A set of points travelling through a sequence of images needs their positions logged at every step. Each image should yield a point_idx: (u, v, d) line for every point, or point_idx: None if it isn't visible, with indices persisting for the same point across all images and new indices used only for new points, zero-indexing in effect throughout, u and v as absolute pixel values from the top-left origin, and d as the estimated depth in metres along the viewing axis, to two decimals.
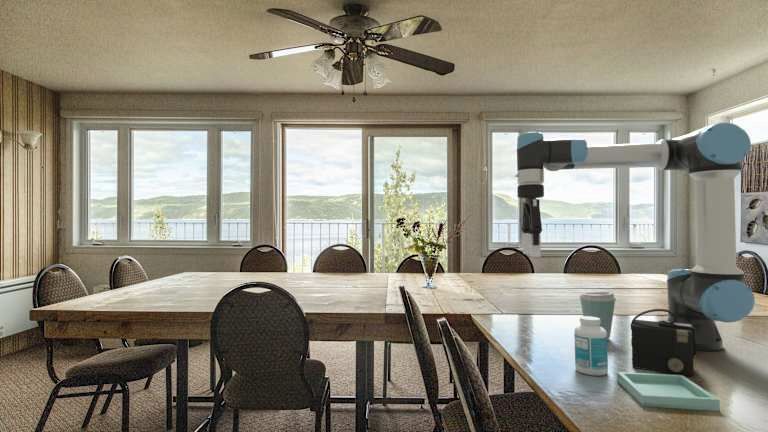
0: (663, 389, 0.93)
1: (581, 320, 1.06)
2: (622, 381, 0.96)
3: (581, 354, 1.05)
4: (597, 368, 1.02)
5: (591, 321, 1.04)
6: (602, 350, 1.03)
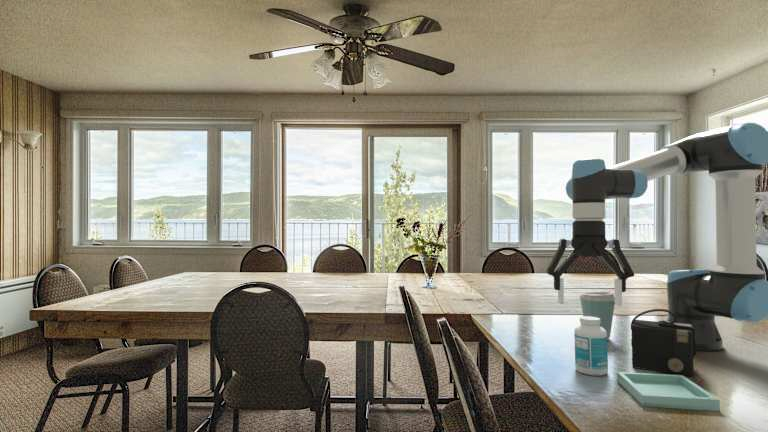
0: (663, 389, 0.93)
1: (581, 320, 1.06)
2: (622, 381, 0.96)
3: (581, 354, 1.05)
4: (597, 368, 1.02)
5: (591, 321, 1.04)
6: (602, 350, 1.03)
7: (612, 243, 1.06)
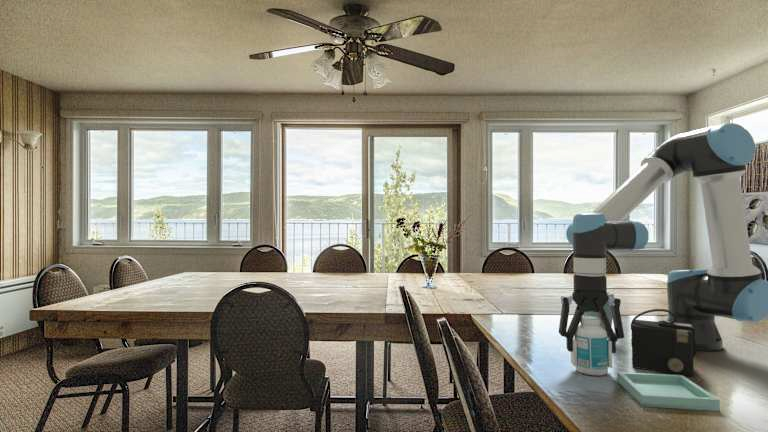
0: (663, 389, 0.93)
1: (581, 320, 1.06)
2: (622, 381, 0.96)
3: (581, 354, 1.05)
4: (597, 367, 1.02)
5: (591, 321, 1.04)
6: (602, 350, 1.03)
7: (613, 301, 1.05)
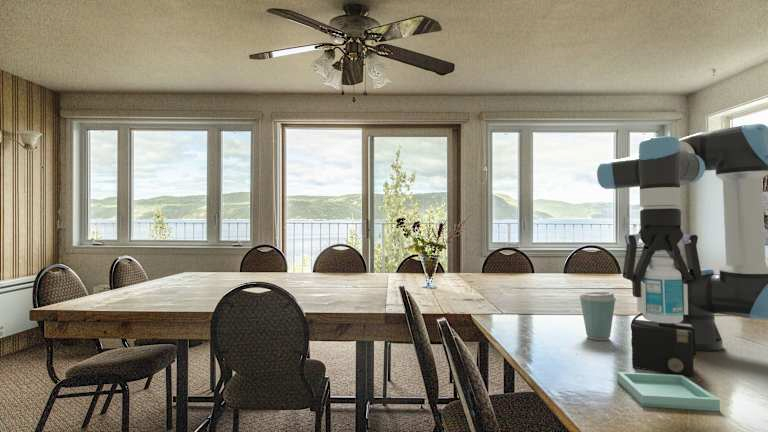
0: (663, 389, 0.93)
1: (650, 261, 0.92)
2: (622, 381, 0.96)
3: (651, 299, 0.90)
4: (672, 313, 0.88)
5: (663, 261, 0.90)
6: (678, 293, 0.89)
7: (688, 238, 0.91)
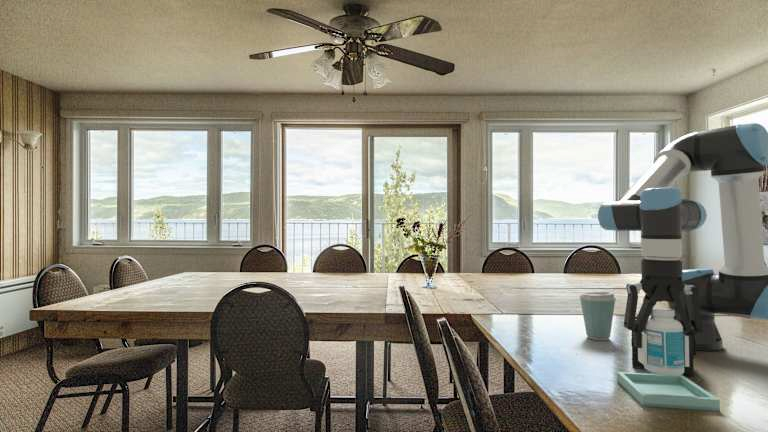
0: (663, 389, 0.93)
1: (651, 312, 0.92)
2: (622, 381, 0.96)
3: (653, 351, 0.90)
4: (674, 366, 0.88)
5: (665, 312, 0.90)
6: (679, 346, 0.88)
7: (689, 289, 0.91)
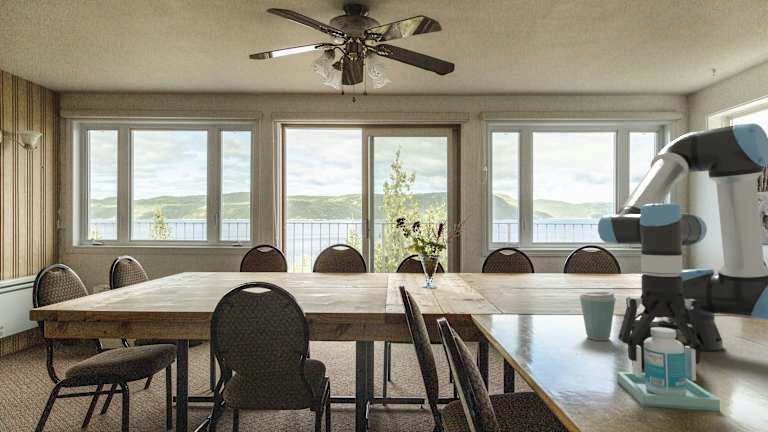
0: None
1: (653, 332, 0.92)
2: (622, 381, 0.96)
3: (654, 372, 0.90)
4: (675, 388, 0.88)
5: (666, 333, 0.90)
6: (680, 367, 0.88)
7: (690, 303, 0.91)
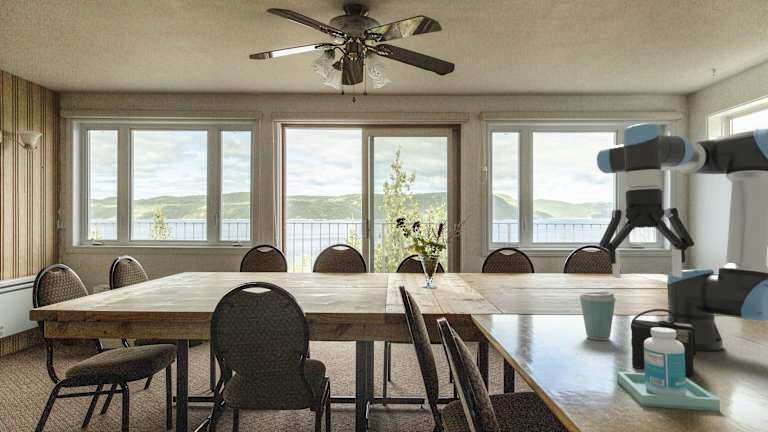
0: None
1: (653, 332, 0.92)
2: (622, 381, 0.96)
3: (654, 372, 0.90)
4: (675, 388, 0.88)
5: (666, 333, 0.90)
6: (680, 367, 0.88)
7: (669, 212, 1.00)
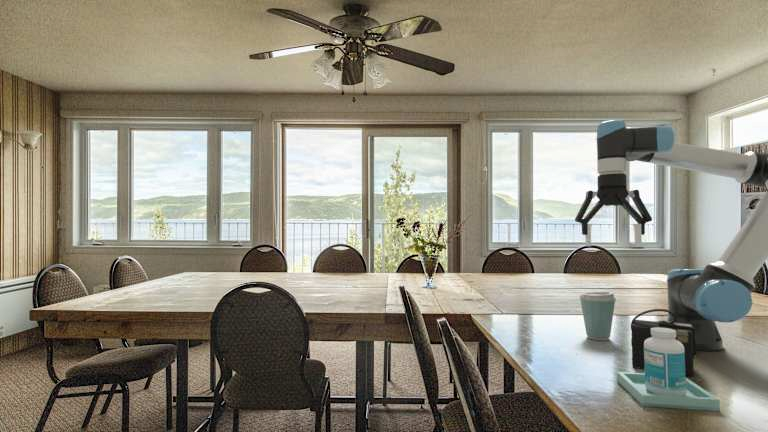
0: None
1: (653, 332, 0.92)
2: (622, 381, 0.96)
3: (654, 372, 0.90)
4: (675, 388, 0.88)
5: (666, 333, 0.90)
6: (680, 367, 0.88)
7: (632, 193, 1.23)
